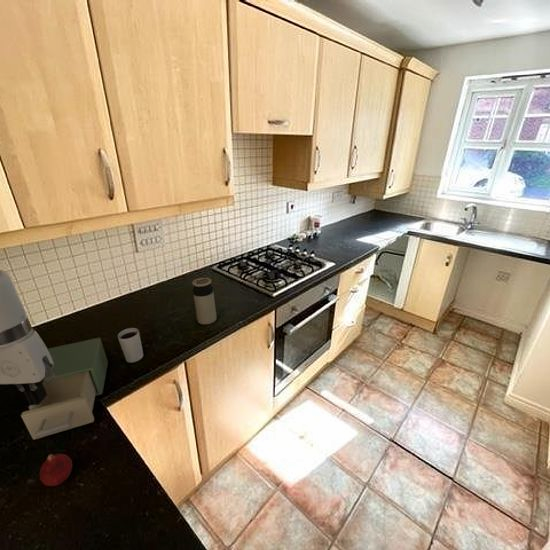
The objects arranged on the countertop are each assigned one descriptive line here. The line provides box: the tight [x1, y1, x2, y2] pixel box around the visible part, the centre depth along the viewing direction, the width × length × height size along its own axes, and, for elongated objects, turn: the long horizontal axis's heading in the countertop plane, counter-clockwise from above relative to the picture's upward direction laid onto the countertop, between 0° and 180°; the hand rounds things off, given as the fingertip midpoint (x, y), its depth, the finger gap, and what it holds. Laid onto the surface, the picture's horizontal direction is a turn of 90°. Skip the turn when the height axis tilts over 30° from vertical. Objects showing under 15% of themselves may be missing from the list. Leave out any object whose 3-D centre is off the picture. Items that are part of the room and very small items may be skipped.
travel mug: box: [191, 277, 218, 325], centre depth 123 cm, size 8×8×18 cm
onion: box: [39, 453, 73, 487], centre depth 66 cm, size 6×6×8 cm
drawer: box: [20, 371, 97, 441], centre depth 80 cm, size 20×14×8 cm
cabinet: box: [44, 337, 109, 397], centre depth 93 cm, size 16×15×10 cm
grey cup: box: [117, 327, 144, 363], centre depth 104 cm, size 7×7×10 cm
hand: (39, 400), depth 67 cm, fingers closed
